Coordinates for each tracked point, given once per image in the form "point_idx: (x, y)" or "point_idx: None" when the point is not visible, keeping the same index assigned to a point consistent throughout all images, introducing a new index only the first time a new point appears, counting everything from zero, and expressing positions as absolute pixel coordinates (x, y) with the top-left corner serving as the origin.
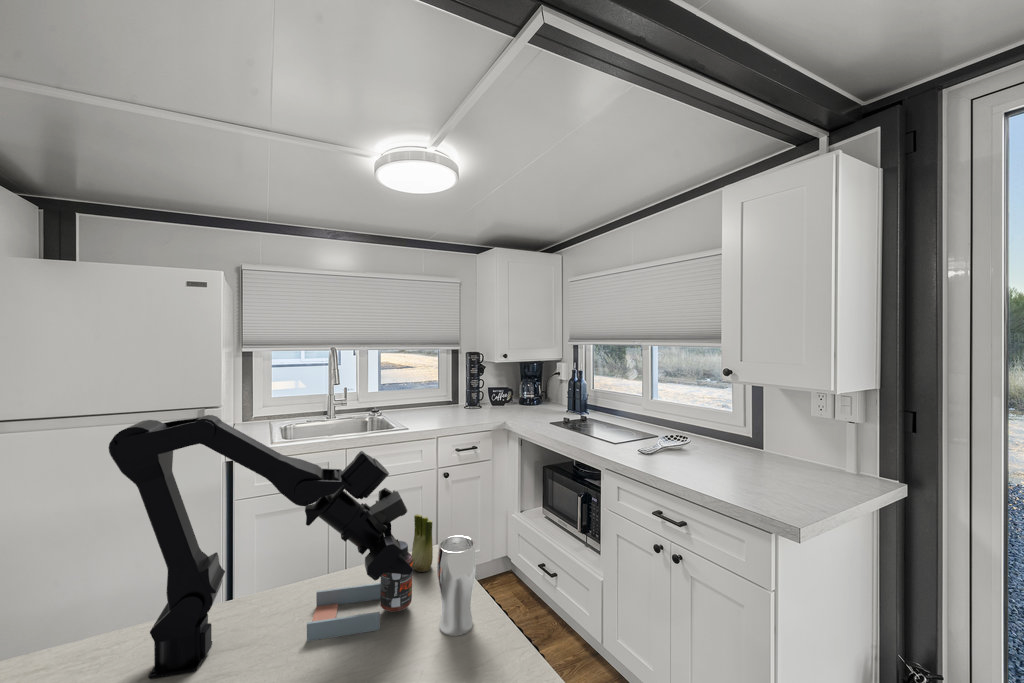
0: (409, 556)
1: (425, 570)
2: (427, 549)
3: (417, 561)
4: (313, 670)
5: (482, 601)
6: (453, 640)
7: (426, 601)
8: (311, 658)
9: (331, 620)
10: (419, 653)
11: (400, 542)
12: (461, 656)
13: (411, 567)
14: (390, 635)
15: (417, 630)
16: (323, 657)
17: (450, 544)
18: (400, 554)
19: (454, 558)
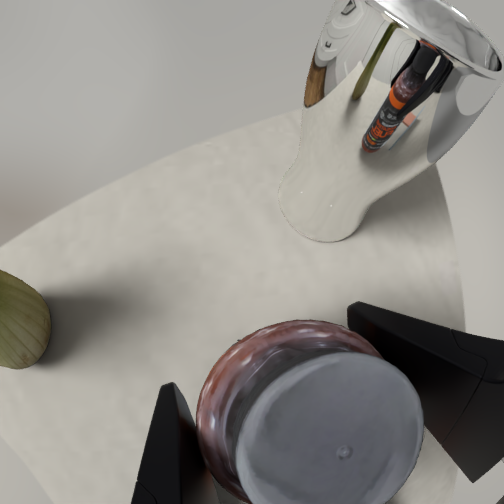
0: (309, 337)
1: (49, 315)
2: (8, 293)
3: (33, 341)
4: (449, 476)
5: (219, 141)
6: (373, 206)
7: (210, 296)
8: (422, 501)
9: None
10: (418, 278)
11: (284, 440)
12: (410, 190)
13: (374, 307)
14: None
15: (348, 300)
16: (423, 482)
17: (362, 39)
18: (483, 354)
19: (485, 61)
